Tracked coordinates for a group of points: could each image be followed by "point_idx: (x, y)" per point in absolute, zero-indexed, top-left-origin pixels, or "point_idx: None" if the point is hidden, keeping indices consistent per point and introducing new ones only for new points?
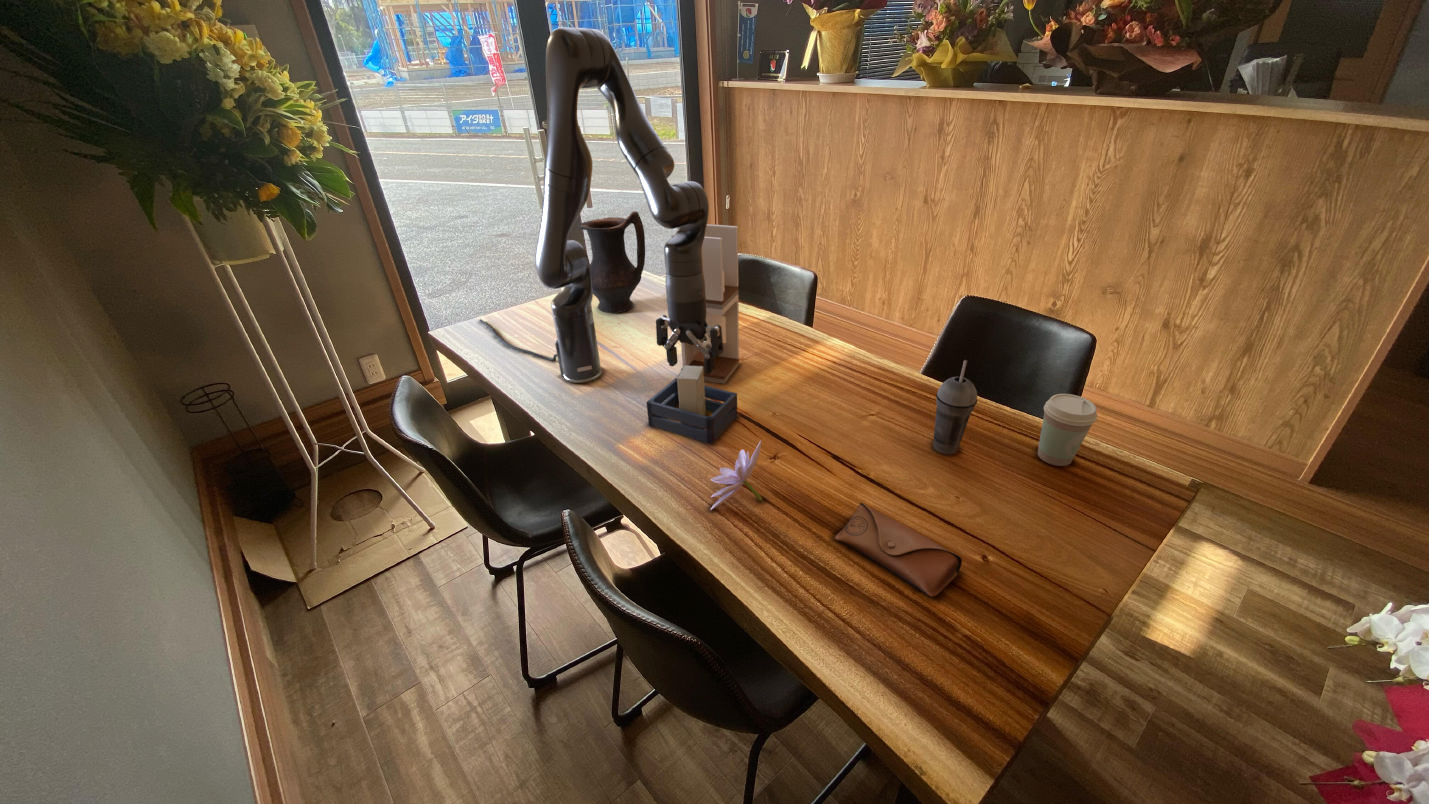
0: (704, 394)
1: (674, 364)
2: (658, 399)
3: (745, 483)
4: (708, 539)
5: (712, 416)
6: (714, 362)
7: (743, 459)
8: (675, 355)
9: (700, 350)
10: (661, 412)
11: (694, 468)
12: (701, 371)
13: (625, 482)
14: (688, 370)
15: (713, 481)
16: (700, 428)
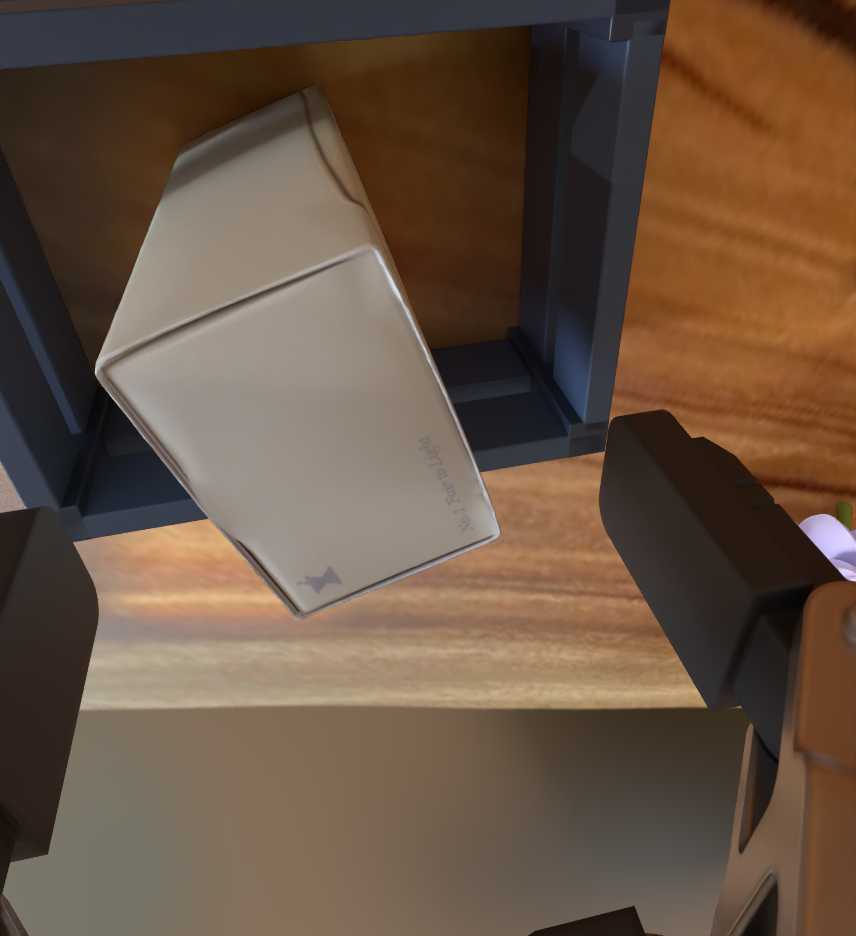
0: (347, 152)
1: (76, 567)
2: (36, 420)
3: None
4: None
5: (600, 419)
6: (781, 517)
7: (848, 563)
8: (28, 645)
9: (732, 871)
10: None
11: (545, 518)
12: (432, 360)
13: (355, 688)
14: (271, 445)
15: None
16: (476, 384)
